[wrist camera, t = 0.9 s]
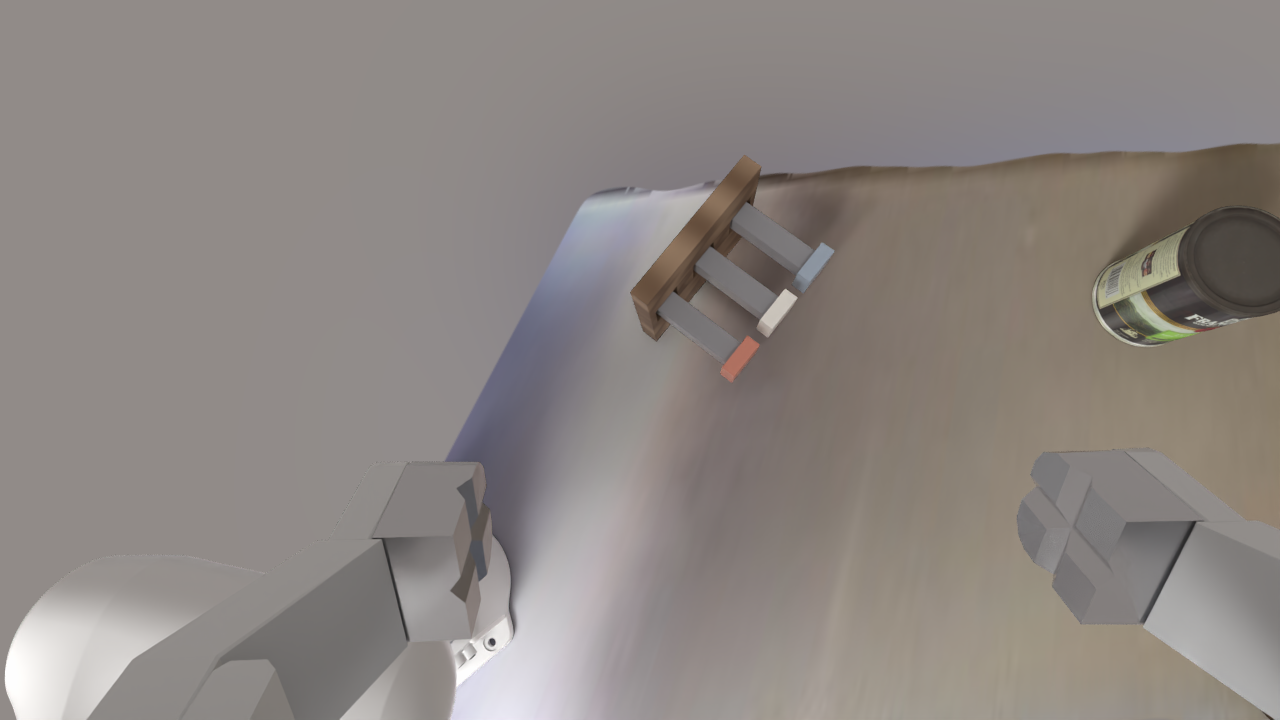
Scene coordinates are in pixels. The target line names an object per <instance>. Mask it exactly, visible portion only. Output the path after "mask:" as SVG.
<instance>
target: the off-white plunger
mask: <svg viewBox="0 0 1280 720" xmlns="http://www.w3.org/2000/svg"><path fill="white" fill-rule="evenodd" d="M693 270H694V271H695V272H696V273H698V274H699V275H701V276H702V277H703V278H705V279H706V280H707V281H709V282H710V283H711V284H713V285H714V286H715V287H717V288H718V289H719V290H721V291H722V292H723V293H725V294H726V295H727V296H729V297H730V298H731V299H733V300H734V301H735V302H737V303H738V304H739V305H741V306H742V307H743V308H745V309H746V310H747V311H749V312H750V313H751V314H753V315H754V316H755V317H757V318H758V319H759V320H760V321H759V324H758V326H757V328H756V329H757V330H758V331H760V332H761V333H762V334H764V335H765V336H766V337H769V336H770V335H771V333H772V332H773V331H774V330H775V328H776V327H777V326H778V325H779V323H780V322H781V321H782V320H783V318H784V317H785V316H786V315H787V313H788V312H789V311H790V309H791V308H792V307H793V305H794V303H795V301H796V300H797V298H798V297H796V296H795V295H793V294H792V293H791V292H789V291H788V290H787V289H784V291H783V292H782V293H781V294H780V296H777V295H776V294H774V293H773V292H772V291H770V290H769V289H768V288H766V287H765V286H764V285H762V284H761V283H759V282H758V281H757V280H755V279H754V278H753V277H751V276H750V275H749V274H747V273H746V272H745V271H743V270H742V269H740V268H739V267H738V266H736V265H735V264H734V263H732V262H731V261H730V260H728V259H727V258H725V257H724V256H723V255H721V254H720V253H719V252H717V251H716V250H715V249H713V248H712V247H709V248H708V249H707V250H706V252H705V253H704V254H703V255H702V256H701V258H700V259H699V260H698V261H697V263H696V264H695V265H694V266H693Z"/></svg>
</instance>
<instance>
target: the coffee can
mask: <svg viewBox="0 0 1280 720" xmlns="http://www.w3.org/2000/svg"><path fill="white" fill-rule="evenodd" d="M1092 304H1093V308H1094V312H1095V314H1096V316H1097V318H1098V320H1099V322H1100V323H1101V325H1102V326H1103V327H1104V328H1105V329H1106V330H1107V331H1108V332H1109V333H1110V334H1111V335H1112V336H1114V337H1115V338H1117V339H1118V340H1120V341H1122V342H1125V343H1127V344H1130V345H1134V346H1139V347H1155V346H1160V345H1163V344H1166V343H1168V342H1170V341H1174V340H1178V339H1181V338H1184V337H1187V336H1191V335H1194V334H1198V333H1201V332H1204V331H1208V330H1212V329H1215V328H1218V327H1222V326H1225V325H1229V324H1232V323H1236V322H1239V321H1242V320H1246V319H1249V318H1252V317H1259V316H1264V315H1268V314H1272V313H1275V312H1278V311H1280V219H1279V218H1278V217H1276V216H1274V215H1273V214H1271V213H1269V212H1266V211H1264V210H1261V209H1258V208H1254V207H1248V206H1227V207H1222V208H1218V209H1215V210H1213V211H1211V212H1209V213H1207V214H1205V215H1203V216H1202V217H1200V218H1199V219H1197V220H1196V221H1195V222H1193V223H1191V224H1189V225H1187V226H1185V227H1183V228H1181V229H1179V230H1178V231H1176V232H1174V233H1172V234H1170V235H1168V236H1166V237H1164V238H1162V239H1160V240H1158V241H1156V242H1154V243H1152V244H1150V245H1148V246H1147V247H1145V248H1143V249H1141V250H1139V251H1137V252H1135V253H1133V254H1131V255H1129V256H1127V257H1125V258H1123V259H1122V260H1118V261H1116V262H1114V263H1112V264H1110V265H1109V266H1107V267H1106V268H1105V269H1104V270H1103V271H1102V272H1101V273H1100V275H1099V276H1098V277H1097V279H1096V282H1095V284H1094V287H1093V291H1092Z"/></svg>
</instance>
